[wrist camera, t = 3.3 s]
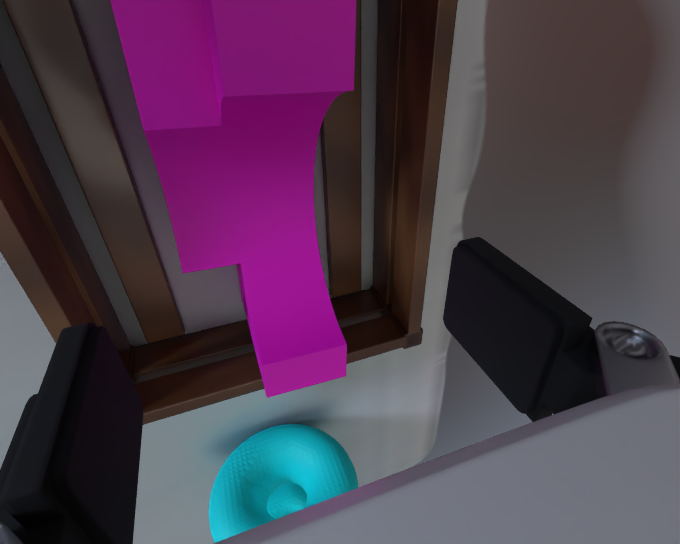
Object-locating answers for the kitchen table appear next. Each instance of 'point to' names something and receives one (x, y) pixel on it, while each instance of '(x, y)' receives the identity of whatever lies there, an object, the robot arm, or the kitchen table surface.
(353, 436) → the kitchen table surface
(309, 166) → the magenta cradle bracket
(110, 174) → the crate
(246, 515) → the donuts
